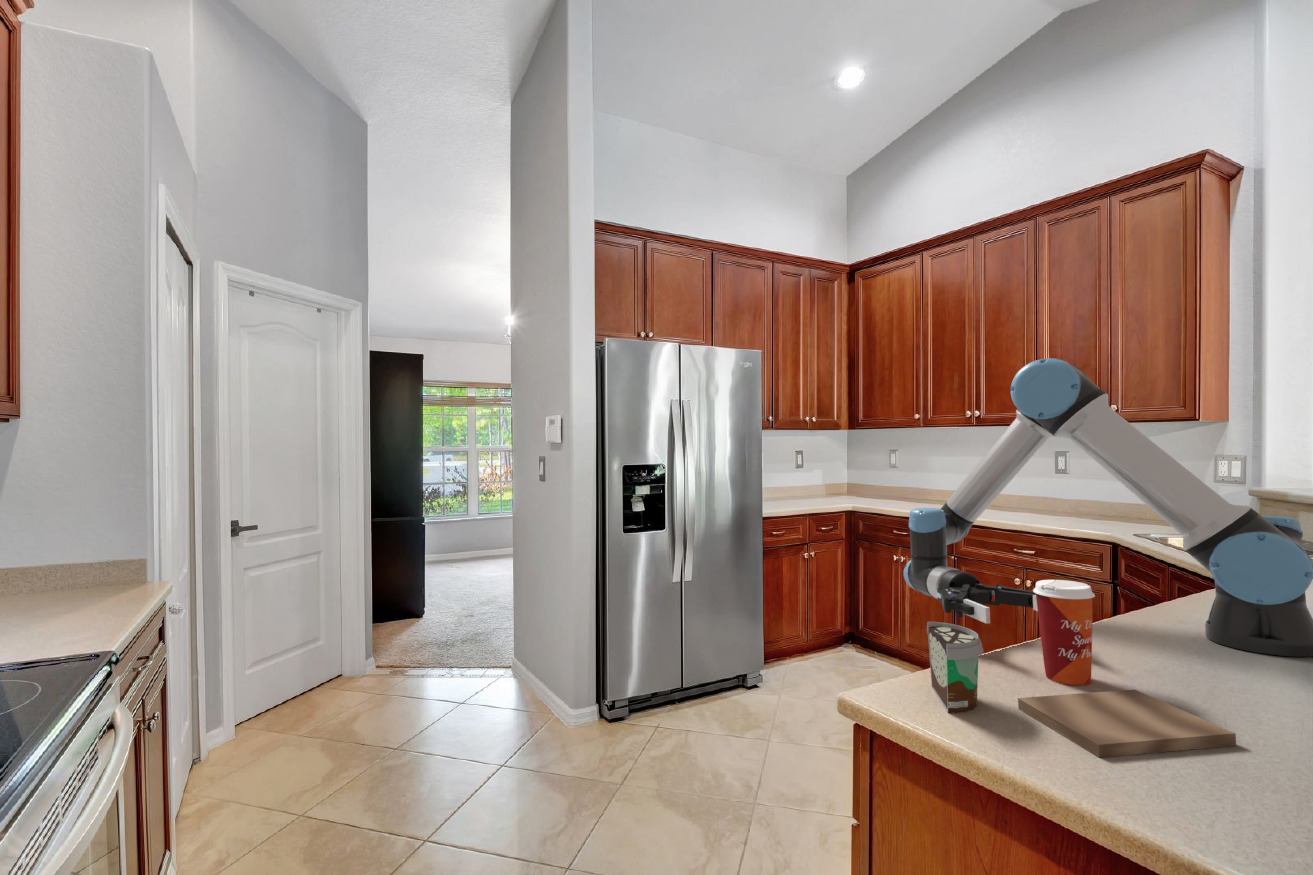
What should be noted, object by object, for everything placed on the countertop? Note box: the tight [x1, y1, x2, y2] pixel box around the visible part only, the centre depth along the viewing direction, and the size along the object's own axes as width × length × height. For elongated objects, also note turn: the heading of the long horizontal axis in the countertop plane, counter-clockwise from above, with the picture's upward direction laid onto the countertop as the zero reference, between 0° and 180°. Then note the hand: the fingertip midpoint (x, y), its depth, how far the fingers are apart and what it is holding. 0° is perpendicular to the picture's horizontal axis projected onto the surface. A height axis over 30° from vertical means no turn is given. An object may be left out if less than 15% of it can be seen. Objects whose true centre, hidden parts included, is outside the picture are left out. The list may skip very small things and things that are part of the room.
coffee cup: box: [1032, 579, 1096, 686], centre depth 96 cm, size 8×8×15 cm
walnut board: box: [1017, 689, 1237, 758], centre depth 80 cm, size 18×14×2 cm
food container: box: [926, 621, 985, 714], centre depth 89 cm, size 12×6×10 cm, turn 168°
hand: (1024, 613), depth 105 cm, fingers open, 13 cm apart
